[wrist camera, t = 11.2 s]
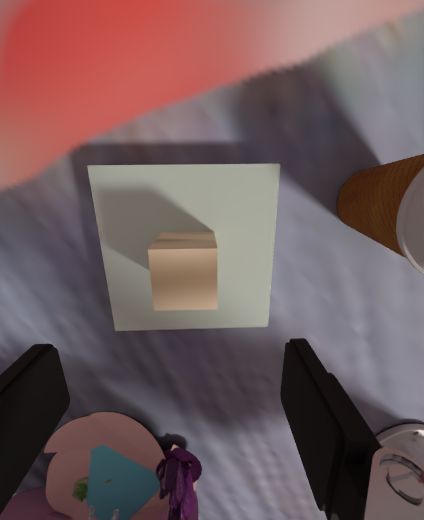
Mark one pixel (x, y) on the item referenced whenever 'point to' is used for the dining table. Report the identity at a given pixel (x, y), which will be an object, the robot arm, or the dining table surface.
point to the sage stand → (187, 220)
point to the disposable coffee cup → (388, 206)
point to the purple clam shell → (110, 475)
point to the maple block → (184, 271)
